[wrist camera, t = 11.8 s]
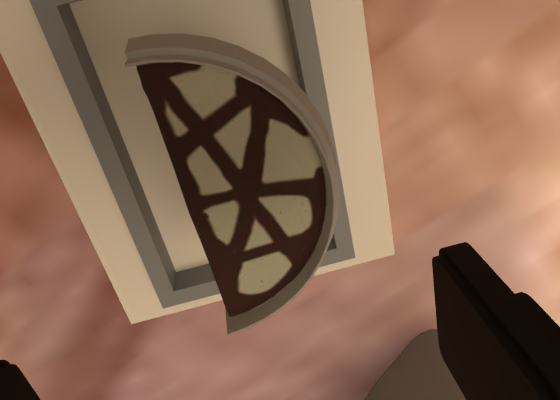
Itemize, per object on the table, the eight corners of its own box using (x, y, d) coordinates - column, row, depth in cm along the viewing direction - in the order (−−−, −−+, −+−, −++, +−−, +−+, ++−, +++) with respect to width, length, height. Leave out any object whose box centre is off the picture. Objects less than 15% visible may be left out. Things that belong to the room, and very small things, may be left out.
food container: (322, 202, 28) (373, 305, 19) (225, 228, 28) (231, 345, 19) (275, -13, 23) (316, -7, 14) (154, 19, 23) (117, 46, 14)
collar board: (-35, -45, 22) (-73, -49, 19) (337, -137, 22) (356, -153, 19) (134, 312, 31) (126, 345, 29) (388, 244, 32) (406, 271, 29)
